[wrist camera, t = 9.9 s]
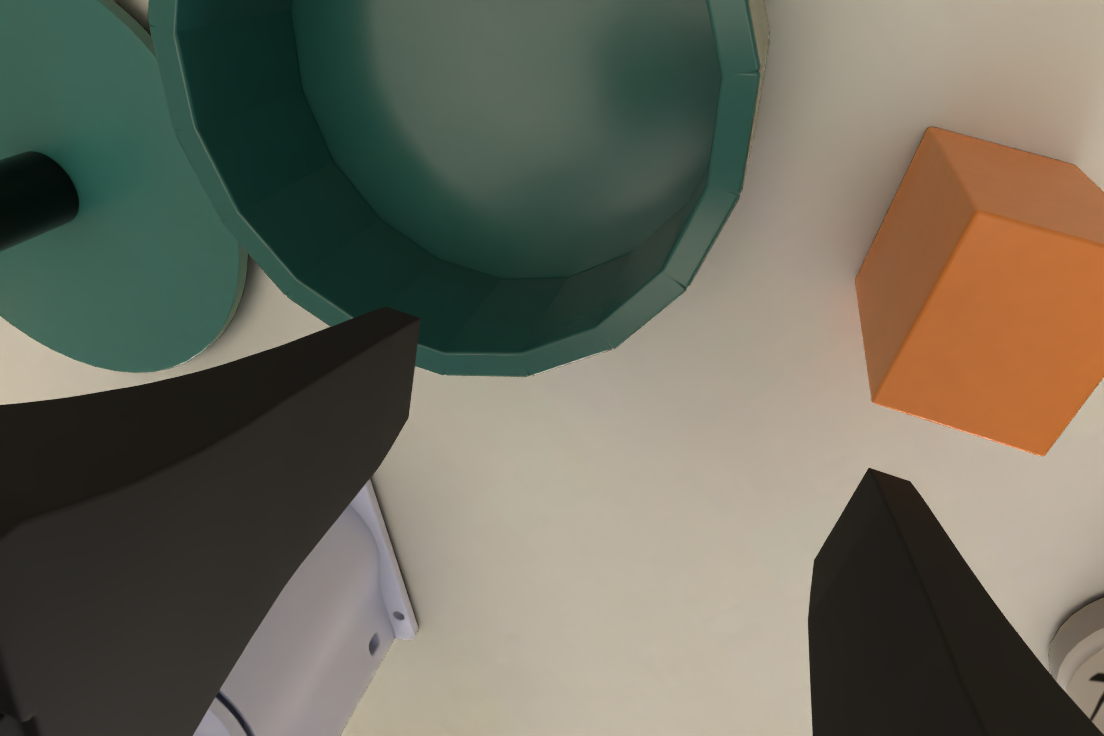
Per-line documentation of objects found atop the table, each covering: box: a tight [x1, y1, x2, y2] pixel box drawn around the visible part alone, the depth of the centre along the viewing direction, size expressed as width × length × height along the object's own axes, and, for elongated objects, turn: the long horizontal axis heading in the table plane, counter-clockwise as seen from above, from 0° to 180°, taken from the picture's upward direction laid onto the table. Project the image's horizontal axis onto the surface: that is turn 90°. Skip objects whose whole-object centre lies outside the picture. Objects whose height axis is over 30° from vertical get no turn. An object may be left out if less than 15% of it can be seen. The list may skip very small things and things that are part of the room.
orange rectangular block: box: [855, 127, 1104, 456], centre depth 16 cm, size 4×3×6 cm
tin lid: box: [0, 0, 248, 373], centre depth 24 cm, size 14×14×4 cm
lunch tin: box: [148, 0, 770, 377], centre depth 18 cm, size 13×13×5 cm
